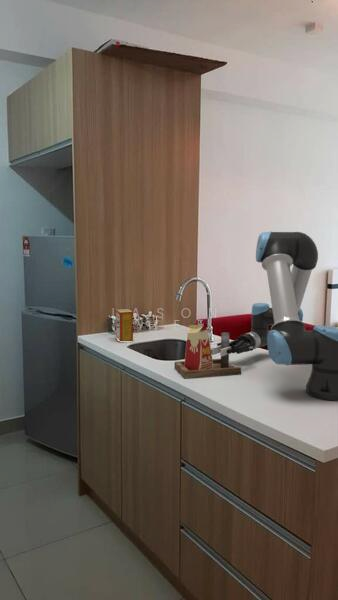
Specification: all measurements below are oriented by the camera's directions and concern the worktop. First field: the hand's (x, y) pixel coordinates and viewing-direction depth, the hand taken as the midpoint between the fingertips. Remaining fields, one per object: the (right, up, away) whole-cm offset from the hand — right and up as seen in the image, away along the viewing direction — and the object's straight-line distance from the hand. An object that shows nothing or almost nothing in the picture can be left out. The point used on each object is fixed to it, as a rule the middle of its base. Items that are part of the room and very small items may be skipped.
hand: (217, 352), depth 190 cm
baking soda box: (-42, -1, +58) cm, 72 cm away
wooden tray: (-4, -8, +3) cm, 10 cm away
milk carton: (-7, -8, +3) cm, 12 cm away
